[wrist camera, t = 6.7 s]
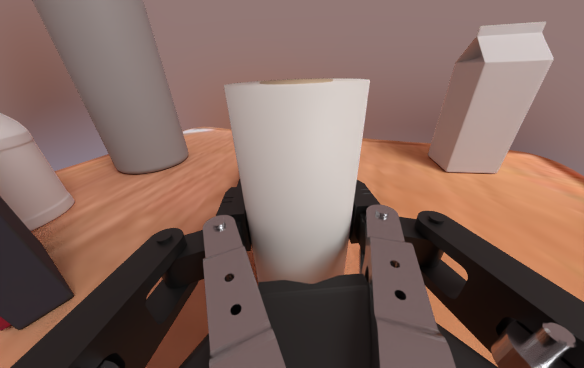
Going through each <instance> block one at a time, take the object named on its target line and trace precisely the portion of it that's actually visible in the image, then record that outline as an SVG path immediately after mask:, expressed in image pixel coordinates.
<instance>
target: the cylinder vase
mask: <svg viewBox="0 0 584 368" xmlns="http://www.w3.org/2000/svg"><path fill="white" fill-rule="evenodd" d="M32 1H33V3H34V5H35V7H36V9H37V11H38V13H39V15H40V17H41V19H42V21H43V23H44V25H45V27H46V29H47V31H48V33H49V35H50V37H51V39H52V41H53V43H54V45H55V47H56V49H57V51H58V53H59V55H60V57H61V59H62V61H63V63H64V65H65V67H66V69H67V71H68V73H69V75H70V77H71V79H72V81H73V83H74V85H75V87H76V89H77V91H78V93H79V95H80V97H81V99H82V101H83V103H84V105H85V107H86V109H87V111H88V113H89V115H90V117H91V119H92V121H93V123H94V125H95V127H96V129H97V131H98V133H99V135H100V137H101V139H102V141H103V143H104V145H105V147H106V149H107V151H108V153H109V155H110V157H111V159H112V161H113V163H114V165H115V167H116V169H117V170H118V171H120V172H123V173H127V174H144V173H151V172H156V171H160V170H164V169H167V168H170V167H173V166H175V165H177V164H179V163H181V162H182V161H184V160H185V159H186V158H187V156H188V149H187V146H186V142H185V139H184V135H183V132H182V129H181V126H180V122H179V119H178V116H177V112H176V109H175V106H174V102H173V99H172V95H171V92H170V89H169V85H168V82H167V79H166V75H165V72H164V69H163V65H162V62H161V58H160V55H159V52H158V49H157V46H156V42H155V38H154V35H153V32H152V28H151V25H150V22H149V18H148V15H147V12H146V8H145V5H144V2H143V1H142V0H32Z"/></svg>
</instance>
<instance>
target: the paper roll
mask: <svg viewBox="0 0 584 368" xmlns="http://www.w3.org/2000/svg"><path fill="white" fill-rule="evenodd" d="M369 84H370V80H367V79H287V80H270V81H256V82H244V83H234V84H228V85H224V89H225V94H226V99H227V106H228V112H229V117H230V123H231V129H232V135H233V140H234V146H235V152H236V158H237V163H238V169H239V175H240V181H241V186H242V192H243V198H244V204H245V209H246V215H247V221H248V227H249V232H250V238H251V244H252V250H253V255H254V261H255V267H256V272H257V278H258V284H259V282H265V281H277V280H289V281H295V282H302V283H308V284H314V283H318V282H320V281H323V280H326V279H329V278H332V277H335V276H338V275H344V271H345V263H346V256H347V248H348V241H349V233H350V226H351V218H352V211H353V203H354V196H355V189H356V181H357V174H358V166H359V159H360V151H361V144H362V136H363V129H364V122H365V114H366V107H367V99H368V91H369Z"/></svg>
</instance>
